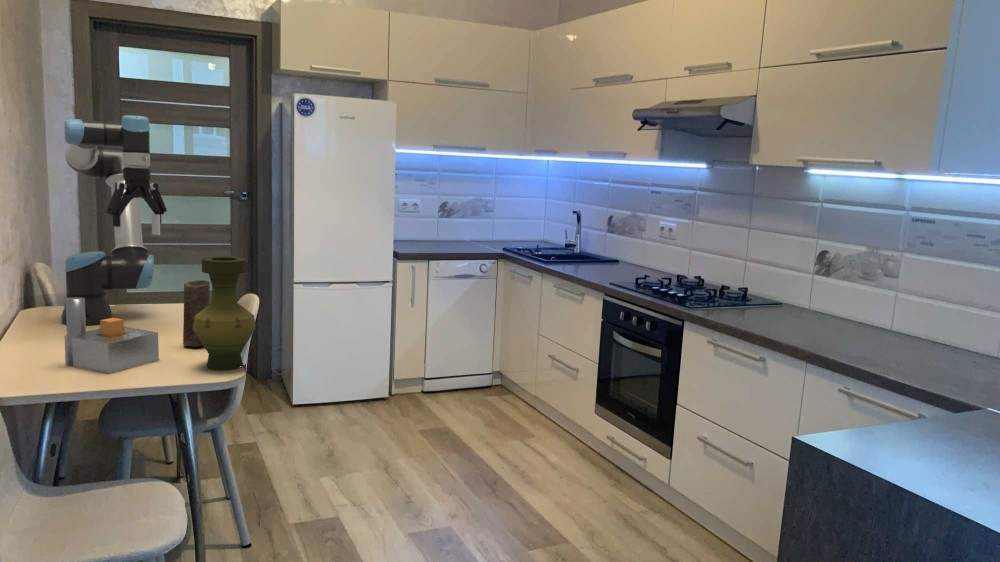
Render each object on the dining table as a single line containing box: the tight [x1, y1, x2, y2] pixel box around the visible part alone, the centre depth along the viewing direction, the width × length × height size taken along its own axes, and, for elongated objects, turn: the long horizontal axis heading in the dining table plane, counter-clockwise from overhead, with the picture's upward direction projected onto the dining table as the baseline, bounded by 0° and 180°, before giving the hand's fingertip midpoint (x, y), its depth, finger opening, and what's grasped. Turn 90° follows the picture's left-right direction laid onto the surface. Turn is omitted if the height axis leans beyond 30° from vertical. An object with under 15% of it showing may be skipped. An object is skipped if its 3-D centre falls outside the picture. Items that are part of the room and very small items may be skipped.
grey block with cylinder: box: [63, 297, 160, 375], centre depth 195 cm, size 16×16×18 cm
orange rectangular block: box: [99, 317, 125, 338], centre depth 196 cm, size 4×4×12 cm
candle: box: [182, 279, 211, 348], centre depth 216 cm, size 8×7×20 cm
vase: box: [193, 255, 257, 372], centre depth 197 cm, size 16×16×30 cm
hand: (138, 236), depth 223 cm, fingers open, 13 cm apart
